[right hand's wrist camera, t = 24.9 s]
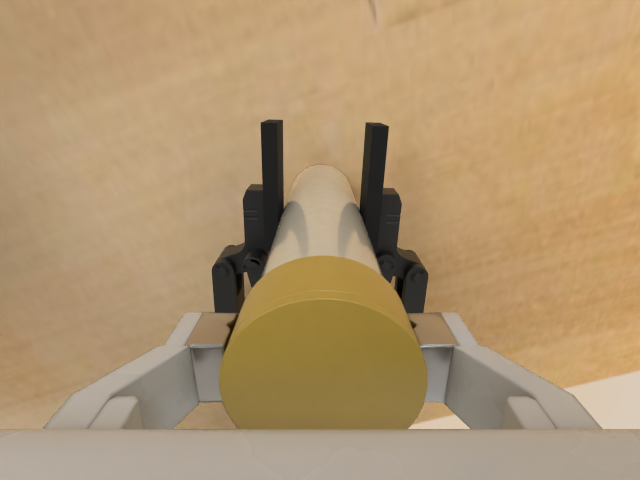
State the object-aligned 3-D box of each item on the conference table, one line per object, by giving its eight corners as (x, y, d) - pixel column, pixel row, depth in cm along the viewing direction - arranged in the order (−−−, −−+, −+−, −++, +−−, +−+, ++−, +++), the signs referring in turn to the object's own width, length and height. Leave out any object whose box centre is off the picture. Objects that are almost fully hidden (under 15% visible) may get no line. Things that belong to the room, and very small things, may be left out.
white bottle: (362, 181, 26) (445, 335, 9) (334, 233, 27) (357, 452, 10) (306, 153, 25) (279, 262, 8) (280, 208, 26) (210, 398, 10)
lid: (300, 418, 12) (295, 488, 10) (204, 309, 10) (173, 364, 8) (435, 351, 11) (463, 413, 9) (351, 221, 9) (360, 257, 7)
